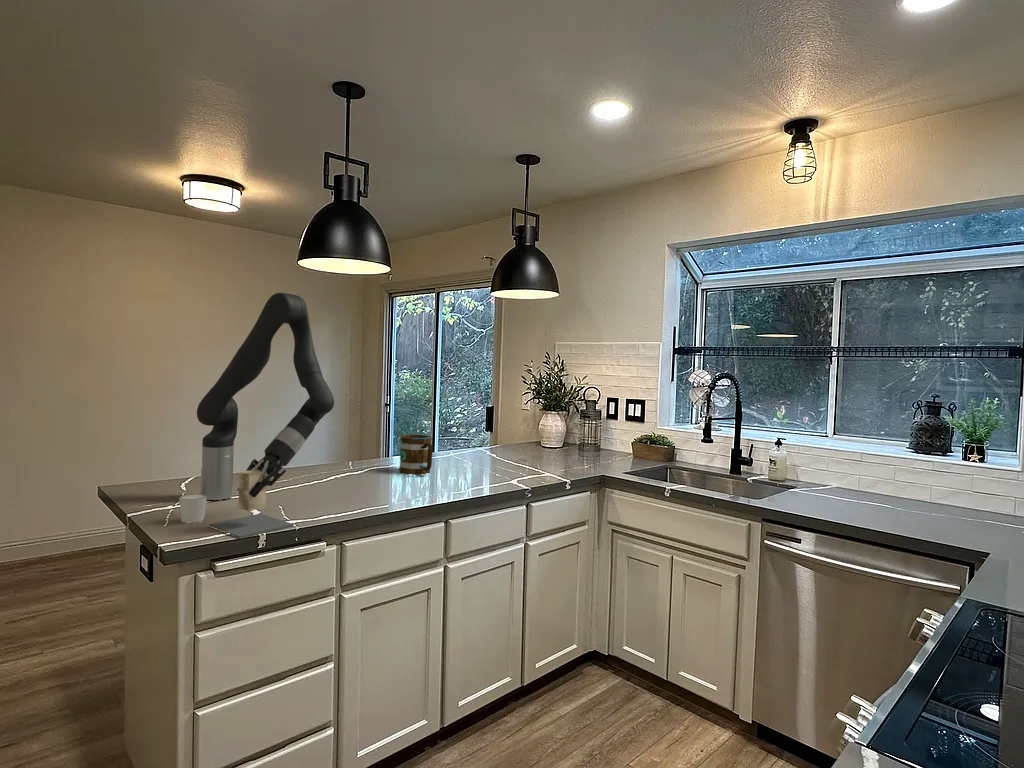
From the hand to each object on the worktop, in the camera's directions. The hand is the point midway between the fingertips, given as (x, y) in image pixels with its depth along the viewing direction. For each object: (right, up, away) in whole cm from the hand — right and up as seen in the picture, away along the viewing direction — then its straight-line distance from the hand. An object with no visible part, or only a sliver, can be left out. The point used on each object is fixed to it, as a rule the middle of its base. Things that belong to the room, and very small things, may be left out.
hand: (245, 493), depth 166 cm
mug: (+34, -7, +86) cm, 93 cm away
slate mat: (0, -10, +2) cm, 10 cm away
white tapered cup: (-17, -9, +5) cm, 20 cm away
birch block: (+1, -4, +2) cm, 5 cm away
